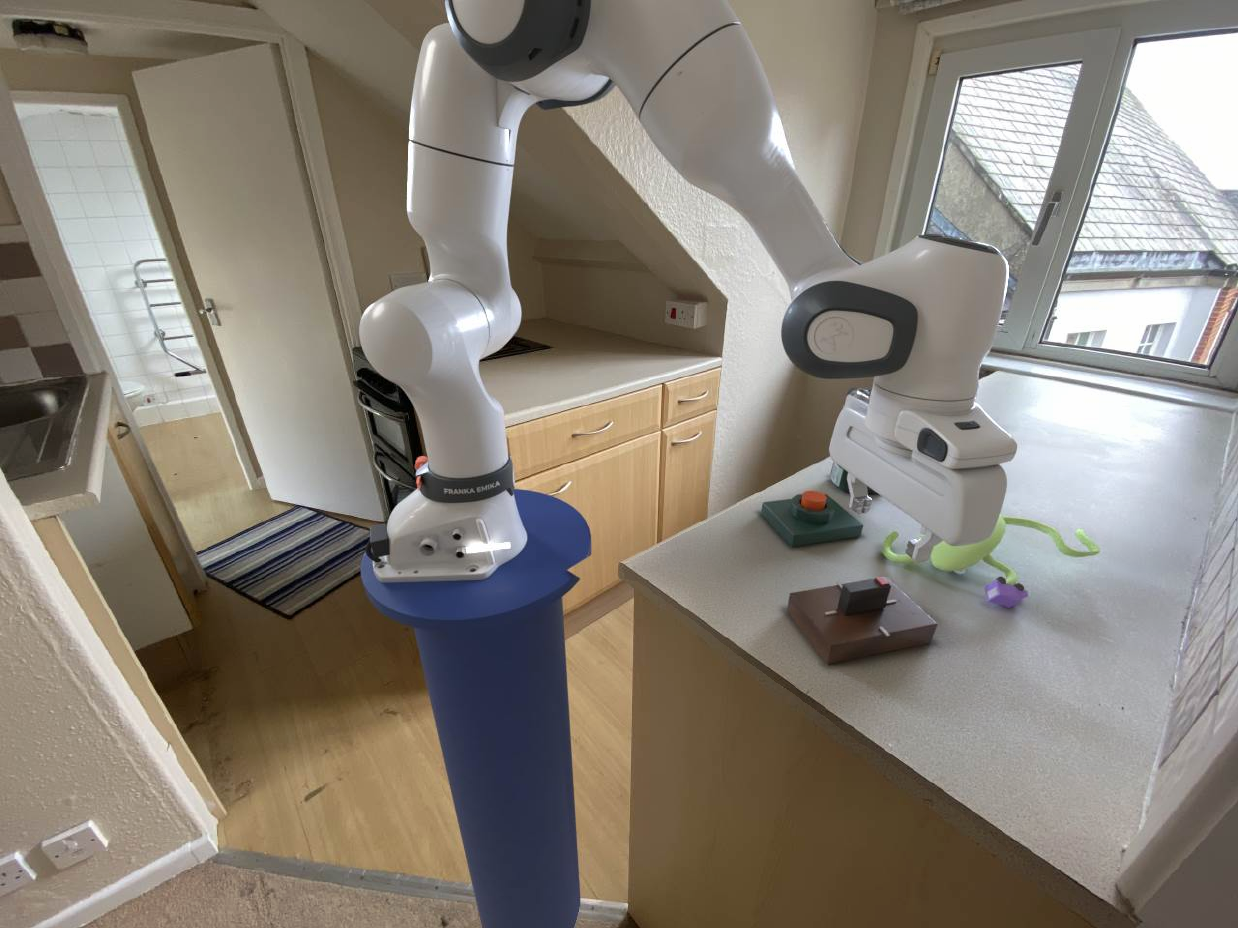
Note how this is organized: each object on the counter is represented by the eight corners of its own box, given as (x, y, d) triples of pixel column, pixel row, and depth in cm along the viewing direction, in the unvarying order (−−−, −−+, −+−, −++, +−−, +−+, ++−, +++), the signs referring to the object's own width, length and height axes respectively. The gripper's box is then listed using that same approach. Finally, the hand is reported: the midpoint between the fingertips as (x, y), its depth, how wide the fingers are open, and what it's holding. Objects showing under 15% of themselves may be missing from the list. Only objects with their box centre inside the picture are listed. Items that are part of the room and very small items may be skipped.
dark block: (845, 615, 63) (851, 590, 61) (837, 606, 64) (842, 582, 62) (885, 608, 64) (892, 583, 62) (876, 599, 65) (883, 575, 64)
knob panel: (828, 667, 60) (833, 646, 58) (784, 609, 68) (788, 590, 67) (933, 645, 63) (940, 624, 61) (879, 592, 71) (884, 573, 70)
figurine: (1104, 569, 76) (1120, 536, 73) (991, 630, 65) (1006, 594, 62) (975, 509, 90) (985, 480, 88) (866, 551, 79) (874, 519, 77)
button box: (791, 547, 80) (795, 524, 78) (760, 513, 89) (763, 492, 87) (860, 536, 83) (866, 514, 81) (824, 504, 92) (828, 484, 90)
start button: (808, 512, 82) (810, 503, 82) (796, 501, 85) (798, 491, 85) (829, 509, 83) (831, 500, 82) (816, 498, 86) (818, 489, 85)
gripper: (826, 385, 60) (808, 490, 66) (973, 461, 43) (929, 596, 49) (874, 381, 62) (852, 485, 68) (1036, 453, 44) (986, 585, 50)
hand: (885, 532), depth 58 cm, fingers open, 8 cm apart
